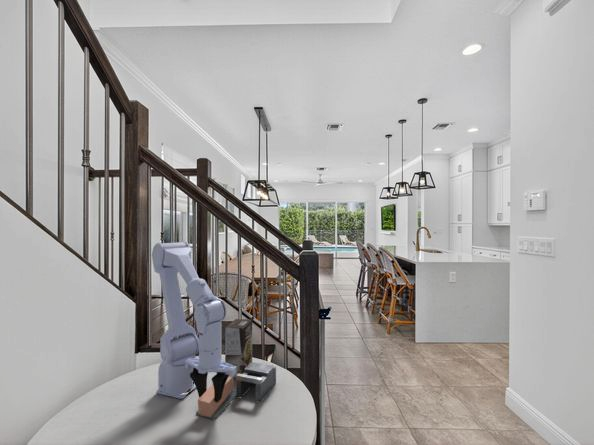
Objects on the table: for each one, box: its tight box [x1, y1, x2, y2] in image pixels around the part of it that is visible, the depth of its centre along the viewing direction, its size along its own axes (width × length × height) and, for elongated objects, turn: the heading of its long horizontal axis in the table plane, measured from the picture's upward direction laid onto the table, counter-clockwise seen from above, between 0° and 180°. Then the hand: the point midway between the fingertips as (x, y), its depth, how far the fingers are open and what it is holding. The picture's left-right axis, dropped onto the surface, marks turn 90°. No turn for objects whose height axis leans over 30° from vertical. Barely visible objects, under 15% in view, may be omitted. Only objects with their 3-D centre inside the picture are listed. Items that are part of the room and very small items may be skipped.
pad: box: [195, 389, 237, 420], centre depth 83 cm, size 6×12×1 cm, turn 161°
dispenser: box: [235, 362, 277, 403], centre depth 89 cm, size 8×11×6 cm
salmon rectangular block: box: [197, 376, 235, 418], centre depth 81 cm, size 4×11×4 cm, turn 160°
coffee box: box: [224, 318, 253, 379], centre depth 100 cm, size 9×6×16 cm
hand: (210, 398), depth 79 cm, fingers open, 4 cm apart
